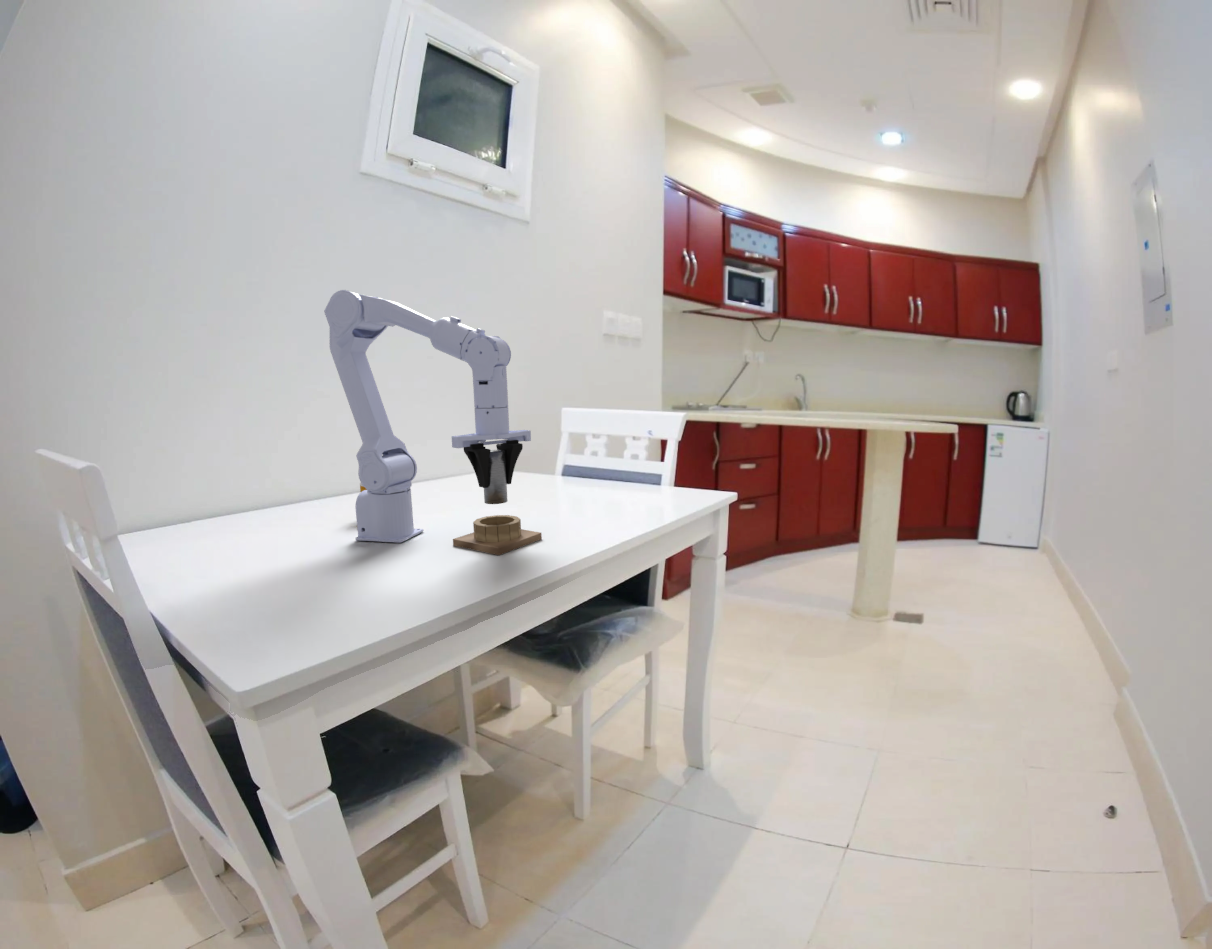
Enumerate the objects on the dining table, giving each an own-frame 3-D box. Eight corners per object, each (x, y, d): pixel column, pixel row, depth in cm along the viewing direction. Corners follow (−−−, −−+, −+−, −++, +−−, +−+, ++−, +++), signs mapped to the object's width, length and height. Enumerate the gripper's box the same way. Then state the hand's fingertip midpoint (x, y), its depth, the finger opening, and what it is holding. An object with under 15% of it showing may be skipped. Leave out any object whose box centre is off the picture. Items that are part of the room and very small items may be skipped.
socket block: (453, 545, 99) (451, 523, 98) (497, 531, 108) (496, 510, 107) (499, 555, 93) (497, 531, 92) (541, 539, 102) (540, 517, 101)
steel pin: (480, 503, 98) (477, 452, 96) (490, 499, 101) (487, 449, 100) (501, 504, 97) (499, 452, 95) (511, 499, 101) (508, 449, 99)
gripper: (464, 410, 89) (469, 494, 91) (539, 406, 98) (542, 482, 100) (443, 409, 94) (449, 488, 96) (517, 405, 103) (520, 477, 106)
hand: (495, 485), depth 99 cm, fingers closed on steel pin, 4 cm apart
